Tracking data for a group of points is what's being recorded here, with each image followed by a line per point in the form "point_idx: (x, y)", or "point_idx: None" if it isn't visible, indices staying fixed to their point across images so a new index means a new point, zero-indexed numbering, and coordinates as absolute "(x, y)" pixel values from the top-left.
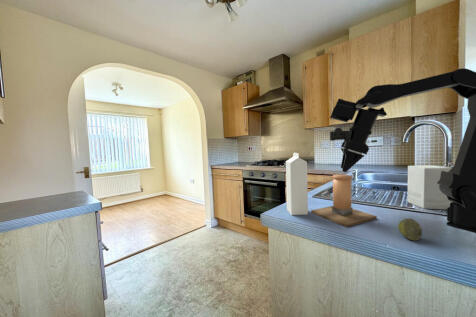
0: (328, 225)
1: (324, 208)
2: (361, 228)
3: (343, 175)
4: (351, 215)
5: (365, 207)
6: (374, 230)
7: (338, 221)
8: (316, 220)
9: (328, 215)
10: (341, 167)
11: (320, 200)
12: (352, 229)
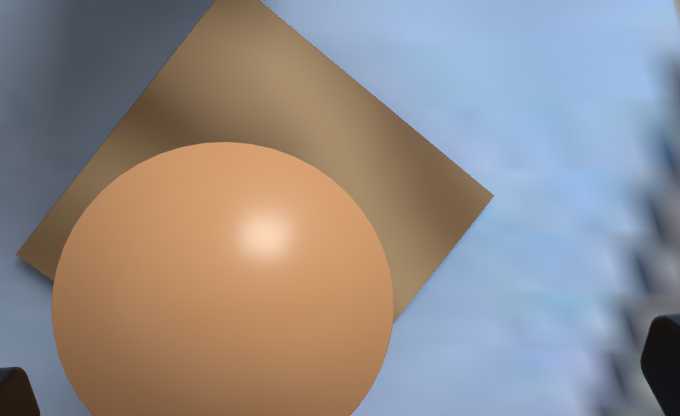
0: (4, 134)
1: (333, 84)
2: (52, 338)
3: (276, 335)
4: None
5: (536, 387)
6: (54, 409)
7: (58, 201)
8: (67, 42)
9: (160, 125)
10: (660, 331)
11: (626, 33)
12: (6, 286)
